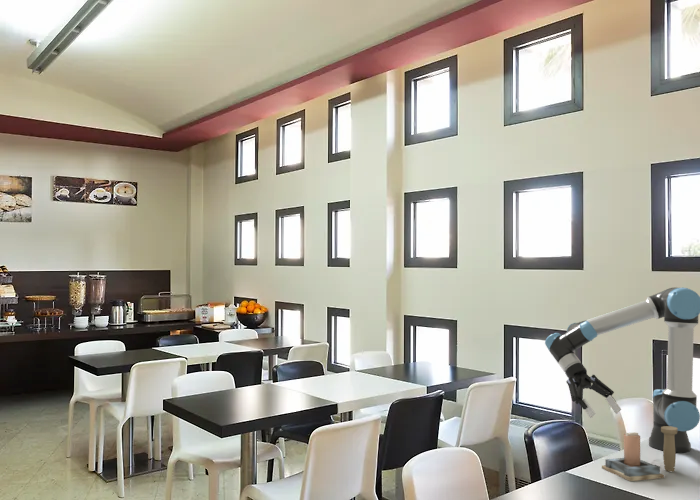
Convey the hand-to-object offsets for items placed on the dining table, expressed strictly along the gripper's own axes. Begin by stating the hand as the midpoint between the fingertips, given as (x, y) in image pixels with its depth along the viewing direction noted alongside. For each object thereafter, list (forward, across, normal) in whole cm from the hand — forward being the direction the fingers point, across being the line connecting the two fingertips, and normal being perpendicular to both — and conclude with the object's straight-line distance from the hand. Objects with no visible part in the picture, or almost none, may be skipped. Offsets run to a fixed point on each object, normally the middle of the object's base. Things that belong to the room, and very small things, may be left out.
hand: (605, 413), depth 225 cm
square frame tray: (+21, +2, -4) cm, 22 cm away
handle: (+24, -13, -2) cm, 27 cm away
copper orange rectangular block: (+20, +2, -4) cm, 21 cm away
